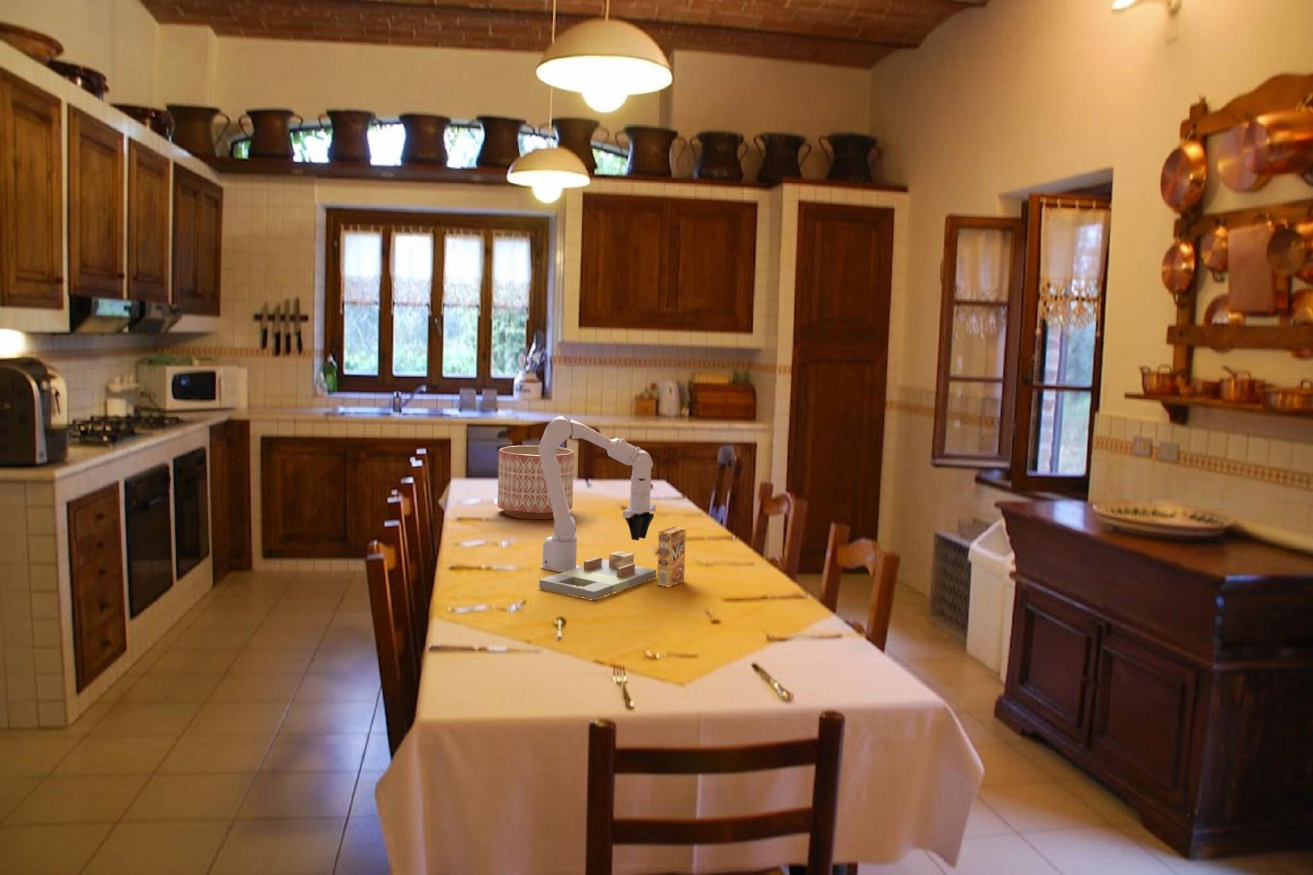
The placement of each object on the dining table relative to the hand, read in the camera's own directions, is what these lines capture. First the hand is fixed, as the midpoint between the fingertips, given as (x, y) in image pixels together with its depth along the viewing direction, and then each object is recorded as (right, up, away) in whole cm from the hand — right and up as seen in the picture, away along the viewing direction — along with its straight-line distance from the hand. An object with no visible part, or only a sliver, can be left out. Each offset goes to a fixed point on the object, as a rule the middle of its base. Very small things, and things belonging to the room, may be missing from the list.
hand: (638, 538), depth 287 cm
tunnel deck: (-11, -11, -15) cm, 21 cm away
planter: (-40, +1, +79) cm, 88 cm away
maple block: (-5, -8, -6) cm, 11 cm away
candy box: (+9, -12, -12) cm, 19 cm away
